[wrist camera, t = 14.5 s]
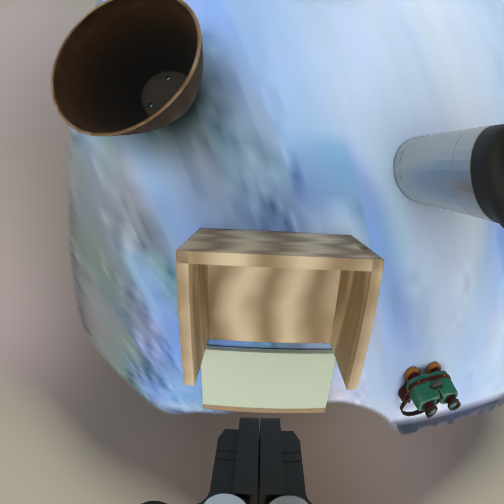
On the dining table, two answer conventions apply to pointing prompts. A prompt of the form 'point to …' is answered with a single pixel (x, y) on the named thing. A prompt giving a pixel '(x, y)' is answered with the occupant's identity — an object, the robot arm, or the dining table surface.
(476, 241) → the dining table surface
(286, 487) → the robot arm
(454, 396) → the binoculars
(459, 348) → the dining table surface
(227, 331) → the crate
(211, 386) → the panel
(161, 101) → the plant pot
